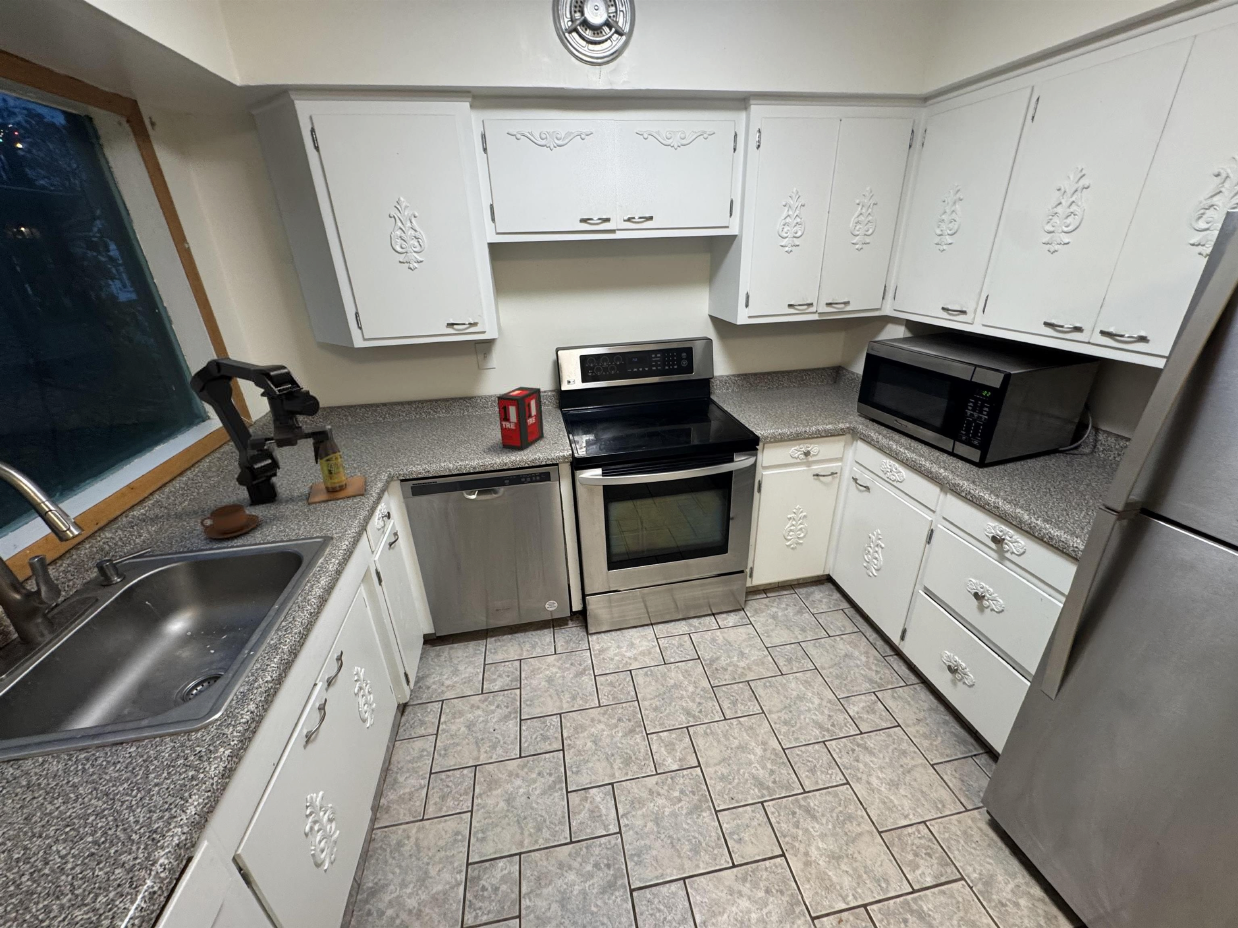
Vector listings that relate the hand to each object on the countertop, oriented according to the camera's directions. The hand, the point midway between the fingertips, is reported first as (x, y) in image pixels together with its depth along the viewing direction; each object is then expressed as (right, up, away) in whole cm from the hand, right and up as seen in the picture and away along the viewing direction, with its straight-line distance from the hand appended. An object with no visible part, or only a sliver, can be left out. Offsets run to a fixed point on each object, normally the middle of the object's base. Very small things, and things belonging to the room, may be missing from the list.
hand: (298, 466), depth 142 cm
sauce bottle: (+2, -7, +16) cm, 17 cm away
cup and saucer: (-12, -17, -7) cm, 23 cm away
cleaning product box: (+53, +9, +56) cm, 77 cm away
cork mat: (+2, -7, +16) cm, 18 cm away
